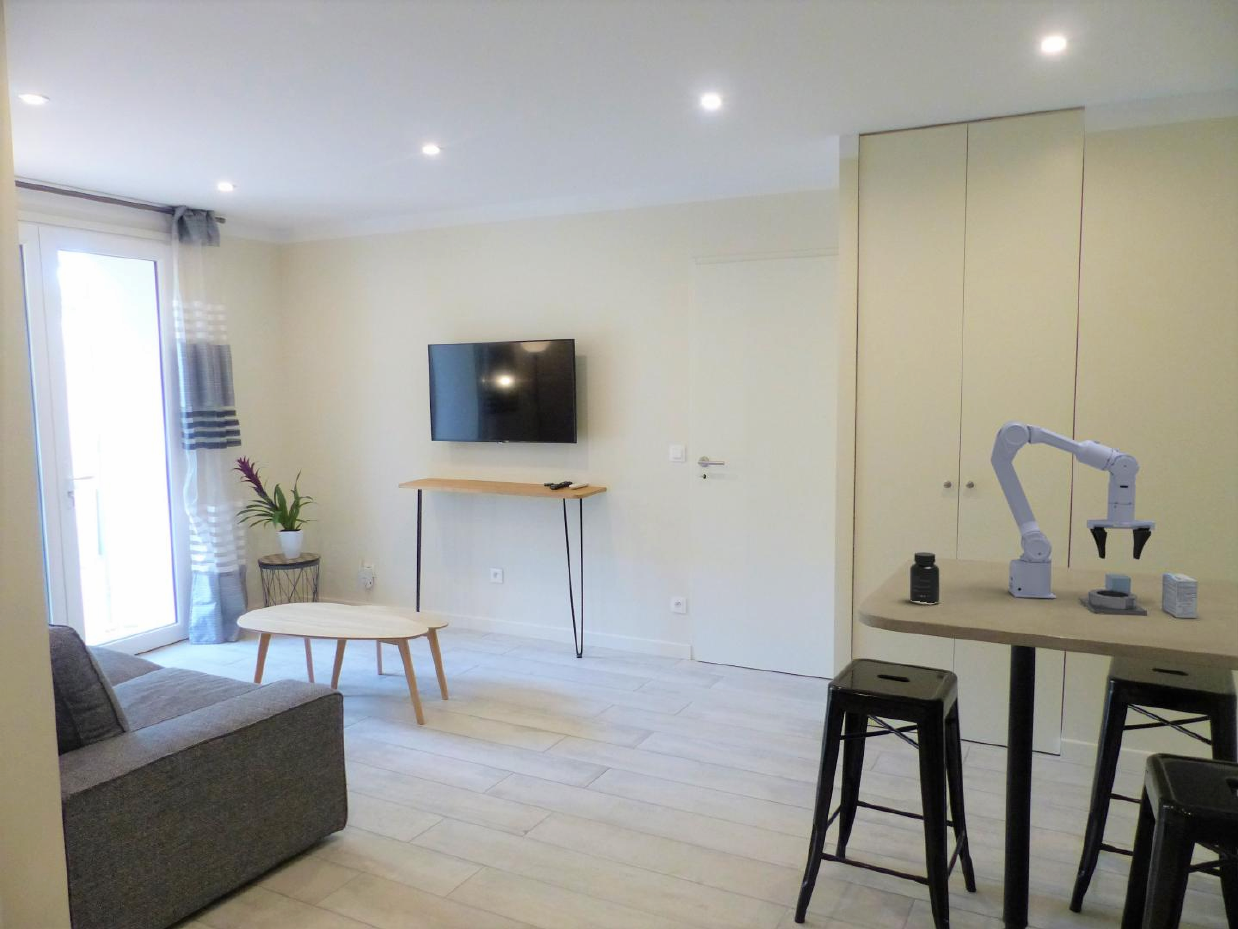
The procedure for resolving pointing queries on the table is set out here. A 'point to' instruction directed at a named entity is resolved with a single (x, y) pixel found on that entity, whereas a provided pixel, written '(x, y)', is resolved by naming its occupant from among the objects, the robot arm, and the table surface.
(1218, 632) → the table surface
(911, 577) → the supplement bottle
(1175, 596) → the medicine box
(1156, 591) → the table surface
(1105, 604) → the square plate with ring
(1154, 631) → the table surface
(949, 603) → the table surface
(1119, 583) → the pale blue block
